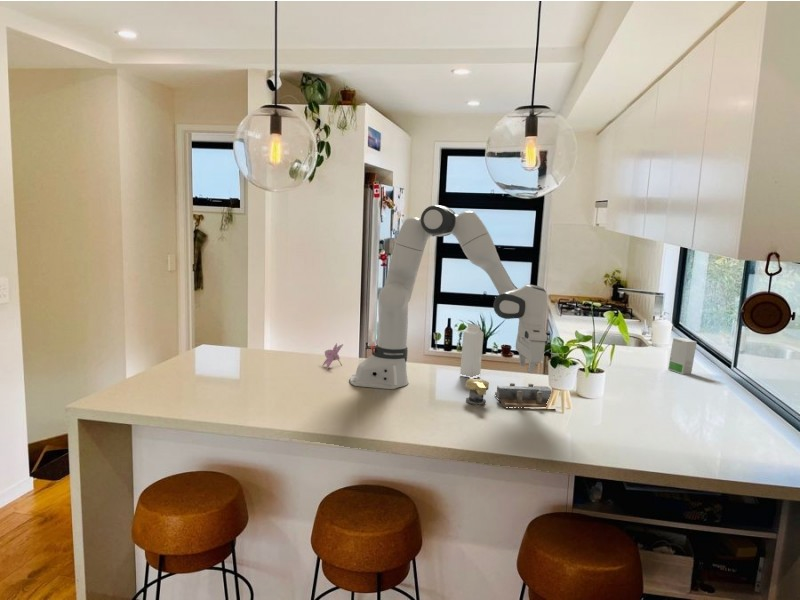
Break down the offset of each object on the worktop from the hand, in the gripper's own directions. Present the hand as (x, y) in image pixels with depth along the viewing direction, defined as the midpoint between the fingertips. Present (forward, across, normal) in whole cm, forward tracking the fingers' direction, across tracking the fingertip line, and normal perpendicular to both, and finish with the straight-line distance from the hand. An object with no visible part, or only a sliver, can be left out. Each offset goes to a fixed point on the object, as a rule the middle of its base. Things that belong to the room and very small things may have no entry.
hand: (526, 369), depth 202 cm
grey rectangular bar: (+11, 0, +1) cm, 11 cm away
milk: (+13, -32, -12) cm, 37 cm away
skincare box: (+11, -54, +93) cm, 108 cm away
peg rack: (+12, 0, +1) cm, 12 cm away
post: (+13, +1, -17) cm, 21 cm away
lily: (+15, -41, -69) cm, 81 cm away
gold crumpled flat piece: (+7, +3, -17) cm, 19 cm away
